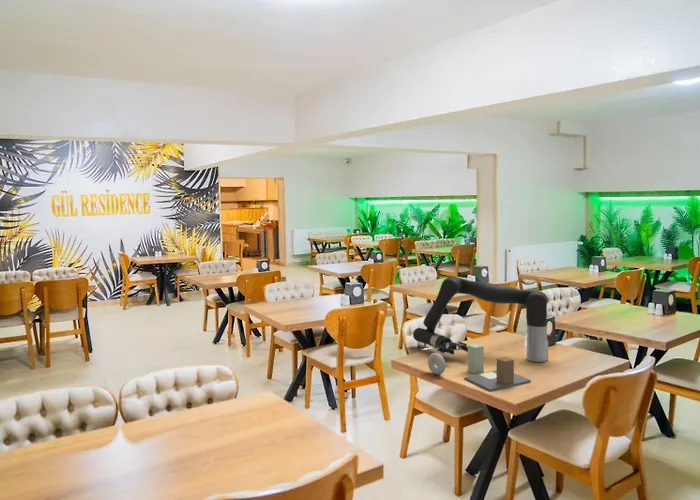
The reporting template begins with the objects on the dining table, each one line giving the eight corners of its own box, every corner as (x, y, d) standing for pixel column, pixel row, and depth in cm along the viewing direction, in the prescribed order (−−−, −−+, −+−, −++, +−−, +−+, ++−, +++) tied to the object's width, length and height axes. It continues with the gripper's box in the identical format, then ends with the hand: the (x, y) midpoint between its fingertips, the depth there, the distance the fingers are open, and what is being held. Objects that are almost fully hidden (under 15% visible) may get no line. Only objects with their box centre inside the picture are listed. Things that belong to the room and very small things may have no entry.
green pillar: (476, 368, 248) (476, 343, 247) (483, 371, 243) (483, 346, 242) (467, 370, 246) (467, 345, 244) (474, 373, 241) (474, 347, 240)
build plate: (503, 370, 244) (503, 347, 243) (530, 382, 228) (531, 357, 227) (464, 379, 234) (464, 354, 233) (490, 391, 219) (490, 365, 218)
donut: (447, 376, 238) (447, 354, 237) (441, 378, 236) (441, 356, 235) (431, 370, 246) (431, 349, 245) (426, 372, 244) (426, 351, 243)
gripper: (429, 337, 265) (448, 345, 250) (452, 333, 271) (473, 341, 256) (429, 352, 265) (448, 361, 251) (452, 348, 272) (473, 356, 257)
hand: (460, 351), depth 254 cm, fingers open, 8 cm apart
